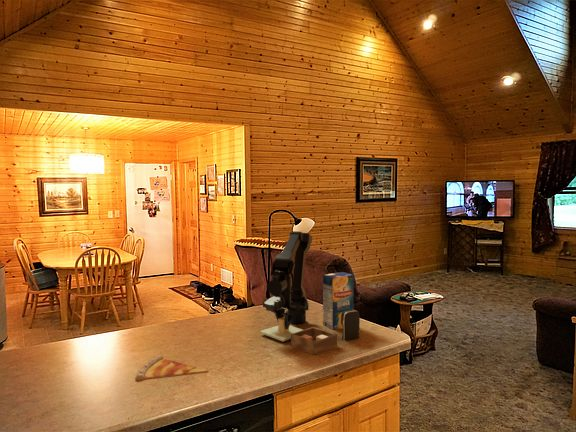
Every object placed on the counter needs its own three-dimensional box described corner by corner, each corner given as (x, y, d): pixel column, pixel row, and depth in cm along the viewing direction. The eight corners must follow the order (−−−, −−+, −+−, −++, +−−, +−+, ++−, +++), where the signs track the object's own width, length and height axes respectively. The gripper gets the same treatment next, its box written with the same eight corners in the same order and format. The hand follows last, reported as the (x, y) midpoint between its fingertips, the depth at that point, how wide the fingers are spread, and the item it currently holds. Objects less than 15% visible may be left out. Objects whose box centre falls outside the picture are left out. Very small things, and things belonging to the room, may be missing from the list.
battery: (354, 336, 172) (354, 308, 171) (359, 339, 168) (360, 310, 168) (339, 339, 169) (339, 310, 168) (345, 342, 165) (345, 313, 164)
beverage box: (322, 326, 184) (322, 274, 182) (343, 322, 190) (343, 271, 188) (332, 331, 178) (332, 277, 177) (353, 326, 184) (353, 274, 182)
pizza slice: (173, 393, 126) (173, 387, 126) (120, 377, 137) (120, 371, 137) (208, 373, 140) (208, 367, 140) (158, 359, 151) (157, 353, 151)
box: (290, 347, 160) (290, 334, 160) (312, 339, 169) (313, 326, 168) (315, 357, 152) (315, 342, 151) (337, 347, 160) (337, 334, 160)
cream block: (315, 346, 160) (315, 336, 160) (322, 343, 162) (322, 334, 162) (323, 348, 158) (323, 339, 157) (329, 346, 160) (329, 336, 160)
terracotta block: (298, 346, 160) (298, 336, 160) (305, 343, 163) (305, 334, 162) (305, 348, 158) (305, 339, 157) (312, 346, 160) (312, 336, 160)
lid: (260, 333, 171) (260, 318, 171) (284, 325, 180) (284, 311, 180) (283, 341, 162) (283, 326, 162) (307, 333, 171) (307, 318, 171)
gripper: (252, 288, 171) (252, 327, 172) (285, 297, 158) (285, 339, 159) (273, 283, 179) (273, 321, 180) (306, 291, 166) (306, 332, 167)
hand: (283, 328), depth 171 cm, fingers closed on lid, 3 cm apart
